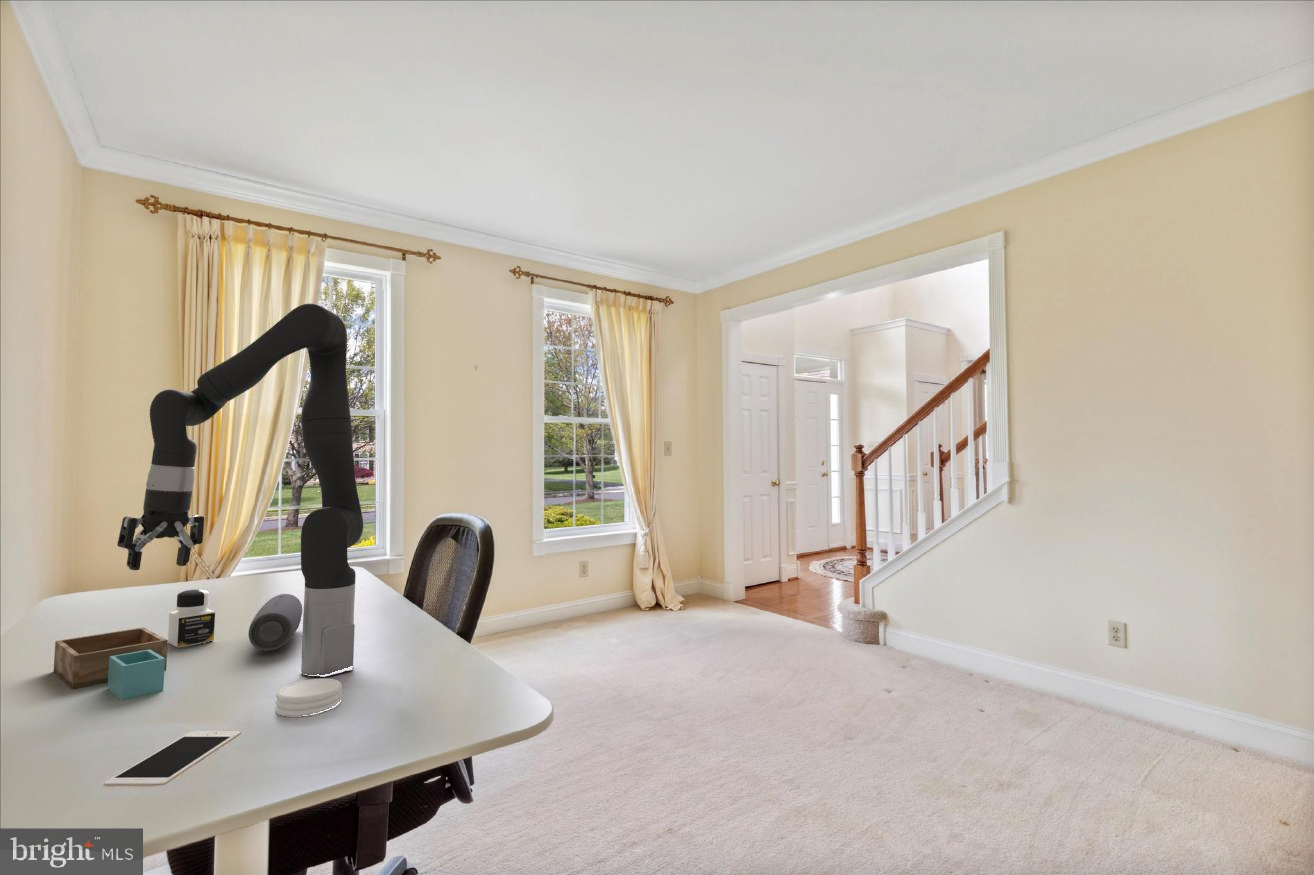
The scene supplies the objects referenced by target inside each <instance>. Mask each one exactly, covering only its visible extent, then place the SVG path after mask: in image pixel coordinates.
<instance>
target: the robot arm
mask: <svg viewBox="0 0 1314 875" xmlns="http://www.w3.org/2000/svg"><path fill="white" fill-rule="evenodd" d="M303 349H306V350H307V353H308V358H309V367H310V368H309V369H310V377H309V378H310V380H309V384H308V389H307V392H306V393H305V397H304V400H303V404H302V408H301V414H300V415H301V418H300V419H301V432H302V433H301V434H302V441H303V448H304V450H305V452H306V457H307V458H308V461H310V464H311V466H312V467H313V470H314V472H315V474H316V476H317V478H318V482H319V485H320V486H319V487H320V491H321V507H320V508H316V509H314V510H312V511H311V512H310V513H308V514H307V516H306V517H305V518H304V521H303V523H302V525H301V526H302V527H301V533H300V568H301V569H300V570H301V573H302V575H303V578H304V592H303V594H304V596H303V611H302V615H303V616H302V617H303V618H302V637H301V638H302V642H301V666H300V668H301V669H300V670H301V672H302V674H307V675H317V674H319V675H325V674H330V673H332V672H335V671H338V670H342V669H344V668H348V667H350V666H353V667H354V655H355V653H354V652H355V627H356V625H355V622H354V621H355V599H356V598H355V597H356V577H357V576H356V570H355V569H354V568H353V567H351V566H350V564H349V561H348V560H349V559H348V548H351V547H353V546H354V545H356V544H357V543H358V542H359V540H360V538H361V537H362V535H363V532H364V518H363V512H362V509H361V504H360V498H359V492H358V488H357V487H358V486H357V482H356V471H355V467H356V466H355V456H354V445H353V430H352V428H353V427H352V417H351V408H350V396H349V387H348V379H347V378H348V377H347V354H348V353H347V350H348V331H347V327H346V325H345V323H344V321H343V319H342V318H341V317H340V316H339V315H337V314H336V313H335V312H333V311H331V310H330V309H327V308H325V307H324V306H322V305H319V304H315V303H310V302H309V303H304V304H303V303H302V304H301V305H299V306H296V307H295V308H294V309H292V310H290V311H289V312H288V313H287V314H285V315H284V316H283V317H282V318H281V319H280V320H278V321H277V322H276V323H275V324H274V325H273V326H271V327H270V328H269V329H268V330H266V331H265V332H264V333H263V334H262V335H260V336H259V337H258V338H256V339H255V340H254V341H253V342H251V343H250V344H248V345H247V346H246V347H244V349H241V350H240V351H239V352H237V353H236V354H234V355H233V356H231V357H229V358H228V359H226V360H224V361H222V362H220V363H219V364H218V365H216V366H214V367H212V368H210V369H209V370H207V371H206V372H204V373H202V374H201V375H200V376H199V377H198V378H197V381H196V384H197V387H196V388H194V389H193V390H190V391H184V390H180V389H179V390H178V389H164V390H162V391H160V392H159V393H157V394H156V395H155V396H154V398H153V399H152V401H151V404H150V407H149V421H150V427H151V428H150V429H151V436H152V439H153V444H154V445H153V450H152V456H151V463H150V464H151V465H150V469H149V472H148V474H147V479H146V480H147V481H146V483H145V484H146V486H145V493H144V494H145V495H144V499H143V500H144V501H143V508H142V509H143V510H142V511H143V514H142V516H141V517H132V516H128V515H127V516H124V517H123V518H122V521H121V525H120V526H121V527H120V530H119V536H118V540H117V543H116V544H117V547H119V548H122V549H126V550H127V551H128V552H127V558H126V559H127V561H126V567H128V568H129V570H130V571H139V570H140V568H141V564H142V555H143V549H144V548H145V547H146V545H147V544H148V543H151V542H152V541H154V539H164V538H169V539H172V538H174V539H175V540H176V542H177V543H178V544H179V547H178V550H177V554H176V555H177V556H176V566H179V567H185V566H187V564H188V563H189V562H190V557H191V550H192V548H193V547H194V546H197V545H202V544H203V541H204V529H205V528H204V527H205V517H204V516H202V515H199V514H193V515H192V516H191V515H190V516H189V512H190V510H191V506H192V505H191V504H192V497H193V489H194V484H195V482H194V481H195V464H196V457H197V451H198V450H197V449H198V445H197V442H196V441H195V440H194V439H193V438H190V437H189V436H188V430H187V427H194V426H197V425H201V424H203V423H205V422H207V421H209V420H210V419H211V418H212V417H214V416H215V415H216V414H217V413H218V412H220V410H221V409H222V408H224V406H225V405H226V404H227V403H228V402H230V401H231V400H234V399H236V398H237V397H238V396H241V395H242V394H244V393H246V392H247V391H249V390H250V389H251V388H253V387H255V386H256V385H257V384H259V383H260V382H261V381H262V380H263V379H264V378H265V376H266V375H267V374H268V373H269V371H271V369H272V368H273V367H274V366H275V365H276V364H277V363H279V362H280V361H281V360H283V359H284V358H285V357H288V356H289V355H291V354H294V353H296V352H298V351H301V350H303ZM139 525H141V527H142V528H141V530H140V531H139V532H137V534H136V535H135V533H136V529H138V528H139V527H140V526H139ZM187 525H189V526H190V528H189V534H188V532H187V530H186V529H185V527H186V526H187ZM134 537H135V538H134ZM302 674H301V675H302Z"/></svg>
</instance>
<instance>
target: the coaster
mask: <svg viewBox="0 0 1314 875" xmlns="http://www.w3.org/2000/svg"><path fill="white" fill-rule="evenodd" d="M342 688H343V685H342V682H340V681H339V680H337V679H334V678H333V679H332V678H312V679H304V680H299V681H296V682H292V683H289V684H286V685H285V686H283V687H281V688H280V689H278V691H277V693H276V694H275V697H276V701H275V706H276V707H275V713H276V714H277V715H278V714H279V715H278V716H280V715H282V716H281V717H284V716H287V717H286V718H299V717H298V716H303V715H310V714H313V713H318V712H320V711H324V710H326V709H329V708H332V706H335V705H336V704H337V703H338V702H340V700H341V698H342V695H343V691H342Z"/></svg>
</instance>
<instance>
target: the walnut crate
mask: <svg viewBox="0 0 1314 875" xmlns="http://www.w3.org/2000/svg"><path fill="white" fill-rule="evenodd" d="M168 644H169V643H168V638H165V637H163V636H161V635H159V634H157V633H156V632H154V631H151V630H149V628H146V627H144V626H143V627H137V628H131V629H130V628H129V629H124V630H117V631H111V632H106V633H105V632H104V633H99V634H98V633H97V634H92V635H91V634H90V635H86V636H80V637H78V636H77V637H72V638H67V639H60V640H55V644H54V658H53V659H54V660H53V673H54V674H55V675H56V676H58V677H59V678H60V679H61V680H62V681H63V682H64V681H65V682H64V683H65V684H66V683H67V684H68V685H67V684H66V685H67V686H68V687H69V686H70V689H72V690H74V689H75V688H76V689H81V688H87V687H90V686H94V684H96V685H99V683H101V684H105V683H108V671H109V657H110V656H115V655H121V654H127V653H132V652H138V651H144V650H149V649H150V650H152V651H154V652H155V653H157V654H159V655H160V656H162V657H164V658H165V669H164V671H166V670H167V659H168V658H167V657H168Z"/></svg>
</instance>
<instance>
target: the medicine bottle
mask: <svg viewBox="0 0 1314 875" xmlns="http://www.w3.org/2000/svg"><path fill="white" fill-rule="evenodd" d="M209 602H210V591H209V590H207V589H206V590H205V589H199V588H198V589H188V590H183V591H181V592H179V593H177V595H176V609H175V611H174V610H173V611H170V612H169V615H168V616H169V618H168V631H167V632H168V634H167V640H168V644H170V645H171V646H174V647H175V648H177V649H179V648H185V647H191V646H196V645H197V644H198V645H202V644H201V643H203V644H207V643H206V642H209V641H213V642H214V641H215V626H216V625H215V623H216V611H214V610H211V609H209V608H208V607H209ZM209 643H210V642H209Z"/></svg>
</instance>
